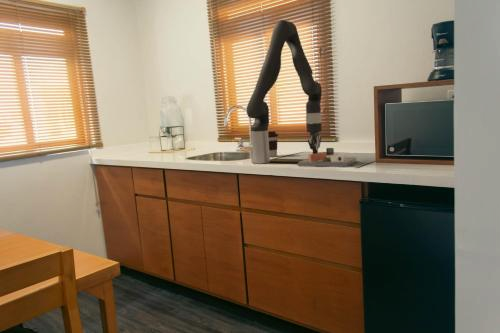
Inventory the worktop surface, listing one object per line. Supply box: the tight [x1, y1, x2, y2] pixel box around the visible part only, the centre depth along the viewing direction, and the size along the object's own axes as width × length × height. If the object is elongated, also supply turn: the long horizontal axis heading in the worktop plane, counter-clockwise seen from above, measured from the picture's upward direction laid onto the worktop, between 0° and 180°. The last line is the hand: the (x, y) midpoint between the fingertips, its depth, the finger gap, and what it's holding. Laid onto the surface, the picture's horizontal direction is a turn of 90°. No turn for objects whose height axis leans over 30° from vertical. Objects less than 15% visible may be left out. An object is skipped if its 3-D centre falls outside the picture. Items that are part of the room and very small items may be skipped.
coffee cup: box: [268, 130, 279, 158], centre depth 238 cm, size 10×10×15 cm
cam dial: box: [308, 147, 340, 162], centre depth 192 cm, size 17×8×5 cm, turn 122°
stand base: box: [297, 154, 357, 168], centre depth 194 cm, size 24×17×5 cm
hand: (315, 157), depth 197 cm, fingers closed
